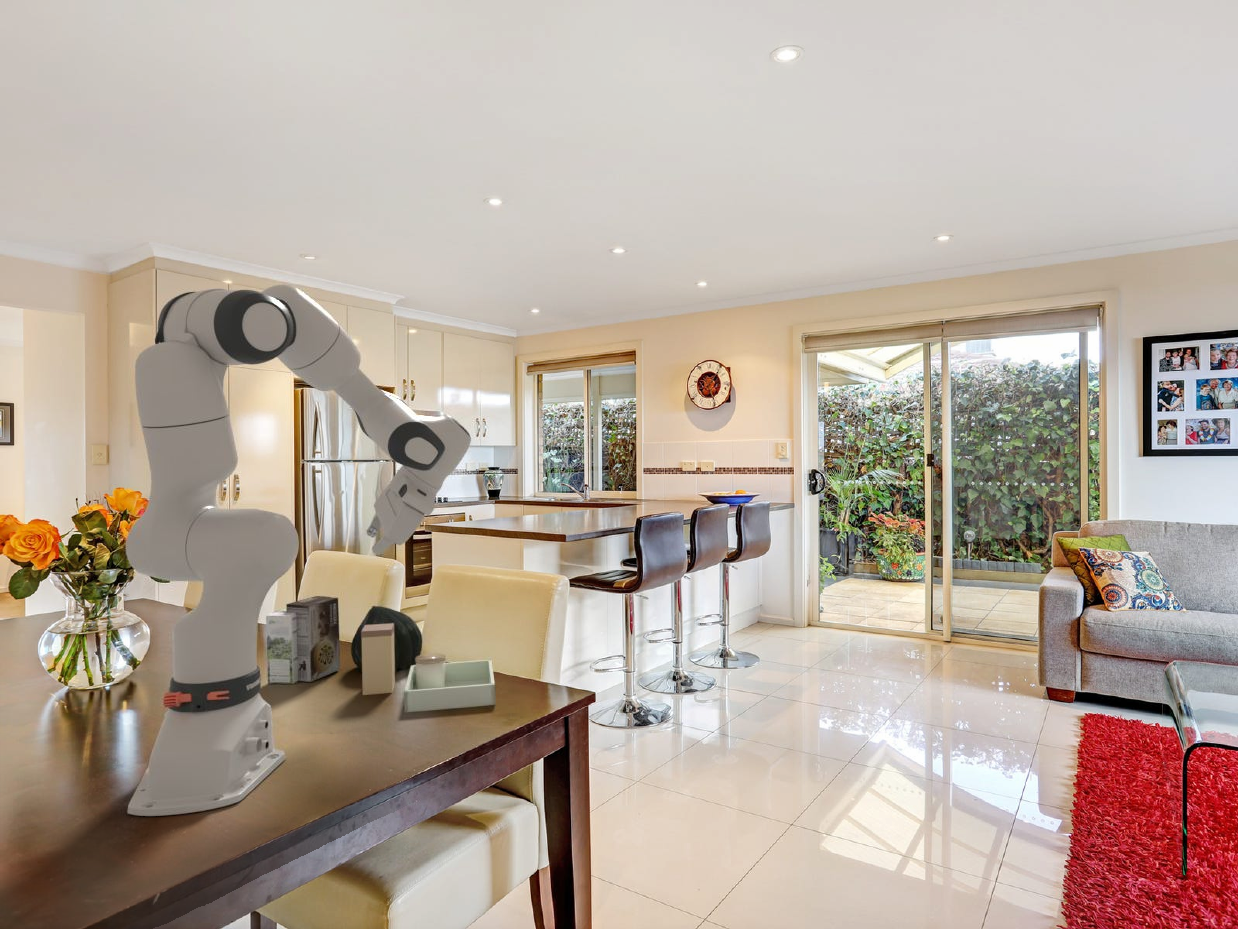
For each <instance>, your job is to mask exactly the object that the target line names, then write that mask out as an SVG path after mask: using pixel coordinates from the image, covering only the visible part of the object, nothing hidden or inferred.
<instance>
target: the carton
mask: <svg viewBox="0 0 1238 929" xmlns="http://www.w3.org/2000/svg"><path fill="white" fill-rule="evenodd" d="M361 638H362V670H361V672H362V674H361V676H362V677H361V678H362V684H361V685H362V696H366V695H367V696H368V695H380V694H390V693H391V694H393V692H394V688H395V685H396V677H395V676H396V672H395V656H394V623H391V624H374V625H365V626H364V628H363V629H362V631H361Z"/></svg>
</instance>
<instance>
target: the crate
mask: <svg viewBox="0 0 1238 929" xmlns="http://www.w3.org/2000/svg"><path fill="white" fill-rule="evenodd" d="M445 686H446V687H444V688H432V689H419V690H416V664H410V668H409V671H408V676H407V680H406V684H405V687H404V691H403V692H404V695H403V696H404V697H403V698H404V703H403V704H404V713H415V712H416V713H417V712H429V711H437V710H450V709H451V710H452V709H464V708H474V707H484V706H496V684H495V676H494V669H493V661H492V659H481V660H469V661H467V660H465V661H455V662H453V661H452V662H445Z"/></svg>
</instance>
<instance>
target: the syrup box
mask: <svg viewBox="0 0 1238 929" xmlns="http://www.w3.org/2000/svg"><path fill="white" fill-rule="evenodd" d="M265 623H266V624H265V627H266V630H265V631H266V662H267V665H266V666H267V684H271V685H272V684H274V685H275V684H277V685H280V684H282V685H283V684H284V685H293V684H296V683H298V682H299V681H298V658H297V617H296V613H291V612H287V609H278V610H276V611H273V612H270V613H268V614H266V615H265ZM297 681H298V682H297ZM295 682H296V683H295Z"/></svg>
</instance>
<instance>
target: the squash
mask: <svg viewBox="0 0 1238 929" xmlns="http://www.w3.org/2000/svg"><path fill="white" fill-rule="evenodd" d="M365 615H366V616H365V617H364V618H363V620H362V622H361V623H360V624H359V626H358V627H357V630H356V632H355V634H354V636H353V638H352V641H351V646H350V655H351V659H352V661H353V663H354V665H355V666H356V667H357V668H358V669H359V670H360V671H362V638H361V631H362V629H363V628H364V626H365V625H374V624H391V623H394V656H395V673H397V671H398V670H404V669H406V668H408V667H409V666H411V665H415V664H416V662H415V658H416V657H417V656H419V655H422V654H421V652H422V648H423V636H422V635H423V634H422V632H421V630H420V628H419V626H418V624H417V623H416V621H415V620H413V619H412V618H411V617H410V616H409V615H407V614H405V613H404V612H402V611H397V610H395V609H392V608H389V607H385V606H380V605H378V606H376V605H372V606H371V608H370V609H369V610H368V612H367V613H366V614H365Z"/></svg>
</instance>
